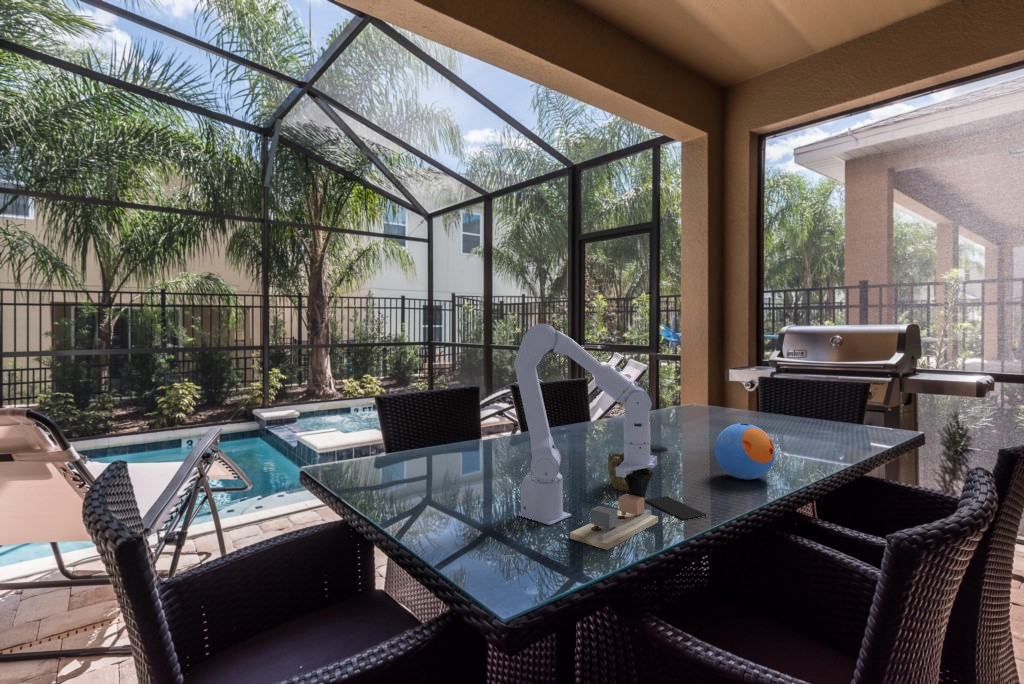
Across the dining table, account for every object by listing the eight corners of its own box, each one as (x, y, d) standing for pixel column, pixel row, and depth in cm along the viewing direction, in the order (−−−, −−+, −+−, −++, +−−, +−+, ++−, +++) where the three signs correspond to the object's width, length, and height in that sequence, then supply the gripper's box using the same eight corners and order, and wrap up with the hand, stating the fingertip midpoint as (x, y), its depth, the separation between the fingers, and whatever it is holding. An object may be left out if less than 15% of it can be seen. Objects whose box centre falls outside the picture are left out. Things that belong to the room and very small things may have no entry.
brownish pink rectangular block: (618, 515, 119) (617, 496, 119) (625, 512, 121) (625, 493, 121) (637, 520, 116) (636, 501, 116) (644, 516, 118) (644, 497, 118)
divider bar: (597, 539, 106) (597, 533, 106) (646, 514, 120) (646, 509, 120) (602, 541, 106) (602, 535, 106) (651, 515, 119) (651, 510, 119)
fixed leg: (590, 529, 111) (589, 509, 111) (598, 525, 113) (598, 505, 113) (609, 534, 108) (609, 514, 108) (617, 530, 110) (617, 510, 110)
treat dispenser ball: (747, 469, 161) (746, 418, 161) (788, 482, 146) (787, 426, 146) (703, 474, 156) (703, 421, 156) (741, 489, 142) (740, 430, 141)
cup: (585, 484, 148) (585, 448, 148) (641, 475, 157) (641, 440, 157) (616, 497, 137) (616, 457, 136) (674, 486, 146) (674, 449, 146)
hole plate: (570, 538, 110) (570, 532, 110) (622, 513, 125) (622, 507, 125) (607, 550, 104) (607, 543, 104) (658, 522, 119) (658, 516, 119)
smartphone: (682, 519, 119) (643, 499, 133) (682, 523, 119) (643, 502, 133) (708, 514, 122) (666, 495, 136) (708, 518, 122) (667, 499, 136)
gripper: (635, 450, 112) (636, 515, 112) (669, 439, 122) (669, 498, 123) (607, 445, 117) (608, 507, 117) (641, 435, 127) (642, 492, 128)
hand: (637, 502), depth 120 cm, fingers closed
